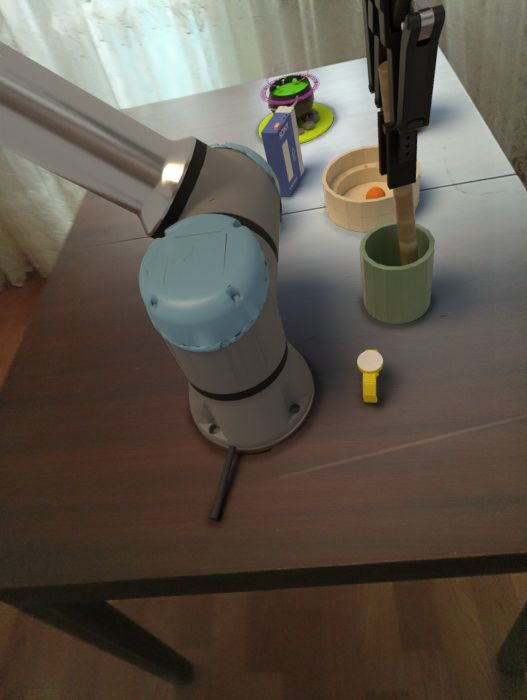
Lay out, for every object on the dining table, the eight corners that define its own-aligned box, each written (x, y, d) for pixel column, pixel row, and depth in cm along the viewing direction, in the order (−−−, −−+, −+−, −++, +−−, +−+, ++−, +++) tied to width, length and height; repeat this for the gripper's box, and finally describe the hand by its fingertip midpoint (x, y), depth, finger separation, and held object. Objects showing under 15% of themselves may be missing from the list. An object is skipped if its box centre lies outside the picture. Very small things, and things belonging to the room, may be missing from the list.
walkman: (289, 197, 85) (276, 130, 75) (274, 196, 86) (259, 130, 76) (305, 169, 89) (294, 103, 79) (291, 169, 90) (278, 103, 80)
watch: (361, 367, 61) (358, 337, 56) (385, 368, 60) (384, 337, 55) (358, 410, 57) (355, 381, 53) (383, 411, 56) (382, 382, 52)
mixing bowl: (432, 219, 74) (434, 184, 69) (339, 245, 75) (335, 212, 70) (400, 169, 83) (400, 135, 78) (317, 192, 84) (313, 160, 79)
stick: (419, 280, 61) (402, 68, 42) (403, 282, 62) (377, 73, 42) (419, 268, 62) (402, 56, 43) (403, 270, 63) (378, 62, 43)
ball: (370, 187, 78) (372, 206, 79) (361, 189, 76) (363, 209, 77) (388, 184, 76) (389, 204, 77) (379, 186, 74) (380, 207, 75)
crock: (440, 316, 63) (446, 257, 55) (375, 333, 63) (372, 277, 56) (416, 273, 68) (419, 213, 60) (356, 289, 69) (351, 232, 61)
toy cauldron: (249, 121, 103) (236, 66, 95) (316, 96, 104) (309, 39, 95) (271, 154, 94) (259, 96, 85) (345, 127, 94) (340, 66, 86)
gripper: (506, -135, 28) (463, 209, 46) (412, -163, 37) (407, 131, 56) (375, -94, 28) (384, 231, 46) (315, -131, 38) (342, 150, 56)
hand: (397, 176), depth 51 cm, fingers closed on stick, 2 cm apart
